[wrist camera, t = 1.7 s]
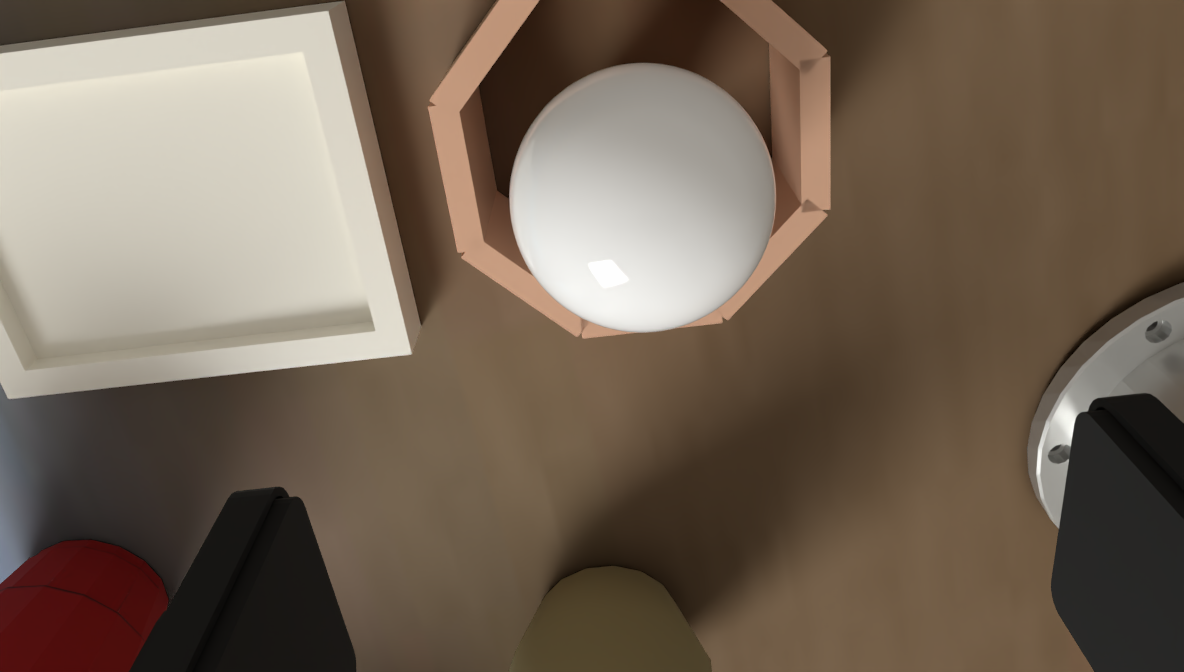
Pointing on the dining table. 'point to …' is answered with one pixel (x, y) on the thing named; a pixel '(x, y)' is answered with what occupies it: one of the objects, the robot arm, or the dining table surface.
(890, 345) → the dining table surface
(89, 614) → the plastic cup
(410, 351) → the tray
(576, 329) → the terracotta octagonal ring
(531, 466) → the dining table surface
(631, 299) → the lightbulb
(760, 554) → the dining table surface
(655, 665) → the squeeze bottle
